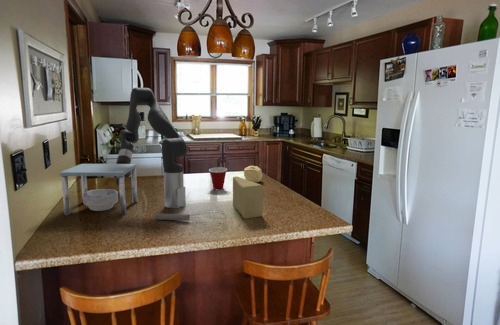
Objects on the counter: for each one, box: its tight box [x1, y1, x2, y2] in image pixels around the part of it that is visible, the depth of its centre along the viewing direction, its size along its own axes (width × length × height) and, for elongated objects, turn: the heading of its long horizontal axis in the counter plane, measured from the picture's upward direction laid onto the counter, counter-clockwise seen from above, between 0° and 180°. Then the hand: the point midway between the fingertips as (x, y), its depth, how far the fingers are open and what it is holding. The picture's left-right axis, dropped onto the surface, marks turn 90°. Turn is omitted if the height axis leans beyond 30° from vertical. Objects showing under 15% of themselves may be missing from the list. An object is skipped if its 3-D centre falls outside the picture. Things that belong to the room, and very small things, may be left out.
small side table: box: [59, 163, 138, 216], centre depth 162 cm, size 22×27×20 cm
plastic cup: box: [208, 166, 228, 190], centre depth 203 cm, size 11×11×12 cm
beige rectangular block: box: [232, 176, 264, 220], centre depth 160 cm, size 22×10×15 cm, turn 26°
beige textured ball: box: [243, 165, 263, 184], centre depth 222 cm, size 11×12×11 cm
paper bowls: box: [82, 188, 119, 212], centre depth 162 cm, size 15×15×8 cm
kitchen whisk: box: [152, 209, 228, 226], centre depth 145 cm, size 6×34×6 cm, turn 78°
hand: (118, 184), depth 185 cm, fingers closed
